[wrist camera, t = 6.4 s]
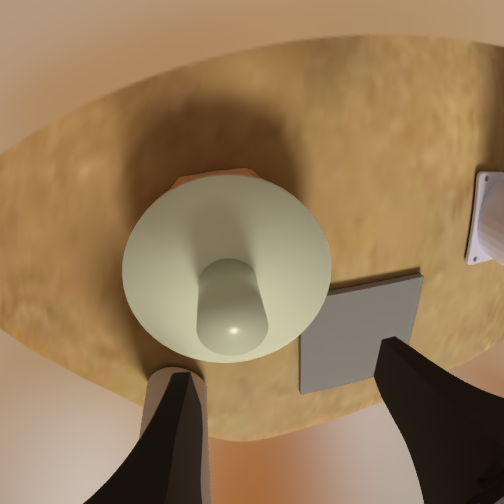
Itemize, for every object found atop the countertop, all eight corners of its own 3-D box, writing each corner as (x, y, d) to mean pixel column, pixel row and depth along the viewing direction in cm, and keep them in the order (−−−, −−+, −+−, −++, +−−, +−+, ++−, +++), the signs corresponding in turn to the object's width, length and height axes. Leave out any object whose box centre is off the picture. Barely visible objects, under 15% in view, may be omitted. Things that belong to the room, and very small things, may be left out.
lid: (321, 160, 14) (362, 177, 10) (326, 336, 18) (350, 386, 14) (102, 196, 13) (64, 226, 9) (157, 363, 18) (149, 417, 14)
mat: (419, 272, 22) (423, 276, 21) (399, 364, 26) (401, 368, 25) (298, 295, 21) (300, 300, 20) (299, 389, 25) (300, 394, 25)
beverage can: (141, 364, 22) (118, 503, 11) (201, 360, 22) (205, 507, 12) (156, 401, 24) (146, 525, 13) (210, 399, 24) (218, 527, 14)
